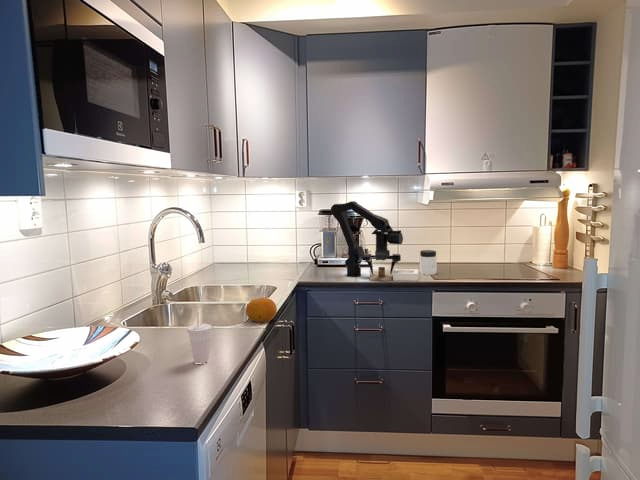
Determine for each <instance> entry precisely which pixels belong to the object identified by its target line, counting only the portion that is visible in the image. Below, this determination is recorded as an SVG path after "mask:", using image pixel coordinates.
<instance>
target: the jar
mask: <svg viewBox="0 0 640 480" xmlns="http://www.w3.org/2000/svg"><path fill="white" fill-rule="evenodd" d="M419 253H420V255H419V273H420V274H422V275H426V276H432V275H437V268H438V267H437V263H438V261H437V260H438V259H437V251H436V250H431V249H425V250H424V249H423V250H420V251H419Z"/></svg>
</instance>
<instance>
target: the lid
mask: <svg viewBox="0 0 640 480" xmlns="http://www.w3.org/2000/svg"><path fill="white" fill-rule="evenodd" d="M377 270H378V273H376V274H375V273H373V274H372V273H371V276H370V278H369V281H380V280H387V281H389V282H390V281H391V282H392V281H393V279H392V278H393V274H391V275H390V274H386V267H385V266H378V269H377Z"/></svg>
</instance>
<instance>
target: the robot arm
mask: <svg viewBox="0 0 640 480" xmlns="http://www.w3.org/2000/svg"><path fill="white" fill-rule="evenodd" d="M348 211H353V212H354V213H356V214H358V216H360V217H362V218H363V219H365V220H367V221H368V222H369V223H370V225H371V226H372V227H373V228H374V230H373V231H372V232H371V235H375V250H374V253H375V254H374V255H372V253H366V252H365V251H364V248H363V246H362V245H360V246H359V244H358V243H357V241H356V238H355V236H354V234H353V231H352V229H351V225H350V223H349V220H348ZM330 212H331V214H332V216H333V218H334V219H335V220H336V221H337V222H338V224H339V227H340V230H341V232H342V235H343V237H344V239H345V242H346V245H347V247H348V248H347V256H348V258H346V260H345V261H344V264H345V266H346V269H347V270H346V278H348V277H349V278H359V277H361V276H362V267H361V264H362V262H363V261H364V262H365V263H367V264H368V266H369V268H370V272H371V275H372V274H374V267H373V260H375V261H386V260H391V266H390V271H389V273H390V275H393V271H394V268H395V265H396V264H397V263H398V262H401V261H402V260H401V259H402V257H401V256H402V255H401V254H400V253H392V255H390V254H391V253H390V249H388V243H389V244H390V245H402V244H403V241H404V236H403V233H402V230H394V229H393V228H392V226H391V225H390V222H389V219H387V218H385V217H382V216H381V215H377V214H374V213H373V212H371V211H370V210H368V209H367V208H365V207H363V206H362V205H361V204H360V203H357V201H355V200H351V201H349V202H346V203H334V204H333V205H331V207H330Z"/></svg>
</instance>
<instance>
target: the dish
mask: <svg viewBox="0 0 640 480" xmlns="http://www.w3.org/2000/svg"><path fill="white" fill-rule="evenodd" d="M392 275H393V279H392V281H394V282H419V269H416V268H415V269H411V268H410V269H407V268H405V269H404V268H393V271H392Z"/></svg>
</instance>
